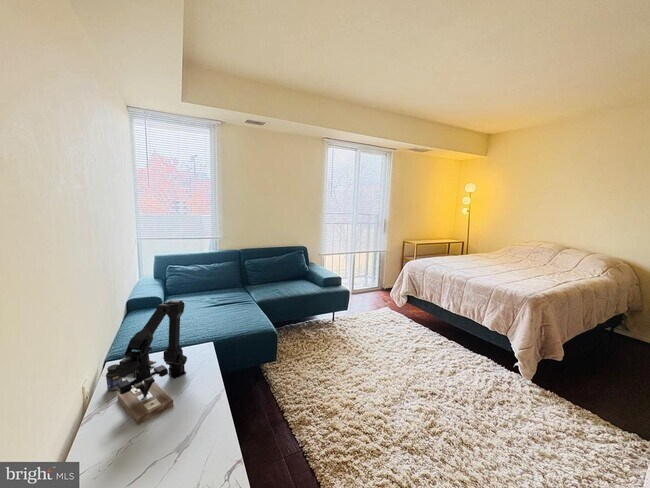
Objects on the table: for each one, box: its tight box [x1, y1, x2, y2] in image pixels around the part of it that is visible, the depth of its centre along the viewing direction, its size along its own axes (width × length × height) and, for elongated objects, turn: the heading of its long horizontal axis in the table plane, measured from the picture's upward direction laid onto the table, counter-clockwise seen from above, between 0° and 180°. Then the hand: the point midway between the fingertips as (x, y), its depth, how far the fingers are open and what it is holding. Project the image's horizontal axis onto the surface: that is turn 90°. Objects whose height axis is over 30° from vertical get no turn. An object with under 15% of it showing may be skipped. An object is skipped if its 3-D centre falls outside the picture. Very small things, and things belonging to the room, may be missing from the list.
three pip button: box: [137, 392, 153, 403], centre depth 126 cm, size 5×5×3 cm
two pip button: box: [130, 388, 141, 395], centre depth 131 cm, size 5×5×3 cm
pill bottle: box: [105, 363, 124, 392], centre depth 136 cm, size 6×6×11 cm
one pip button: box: [143, 399, 161, 411], centre depth 121 cm, size 5×5×3 cm
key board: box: [117, 381, 175, 426], centre depth 126 cm, size 14×24×3 cm, turn 52°
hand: (145, 396), depth 126 cm, fingers closed, pressing on three pip button
